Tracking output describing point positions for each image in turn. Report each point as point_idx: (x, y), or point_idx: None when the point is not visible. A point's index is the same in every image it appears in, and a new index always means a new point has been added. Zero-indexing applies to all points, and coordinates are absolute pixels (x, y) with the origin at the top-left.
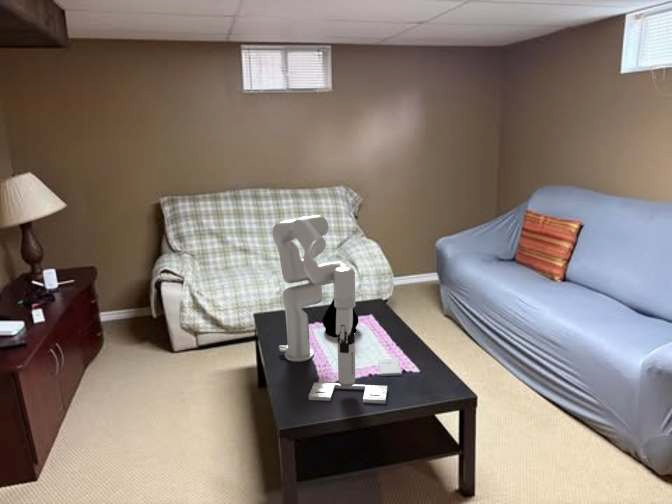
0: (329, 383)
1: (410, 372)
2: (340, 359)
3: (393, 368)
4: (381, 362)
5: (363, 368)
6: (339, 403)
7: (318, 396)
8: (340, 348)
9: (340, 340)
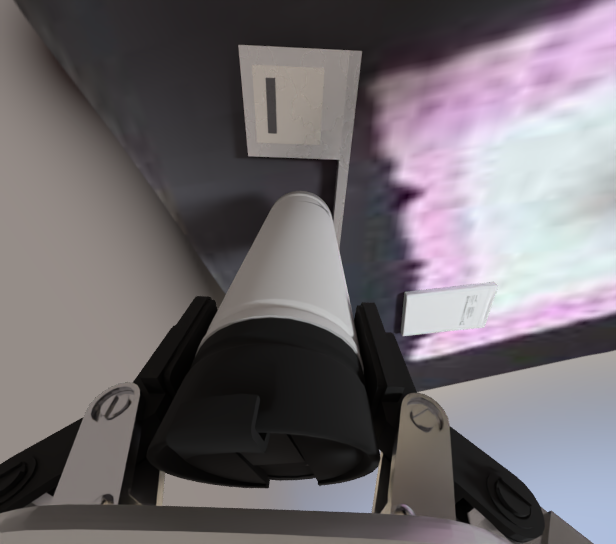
0: (349, 136)
1: (410, 346)
2: (247, 256)
3: (430, 320)
4: (476, 293)
5: (463, 243)
6: (241, 190)
7: (243, 101)
8: (182, 324)
9: (84, 429)
